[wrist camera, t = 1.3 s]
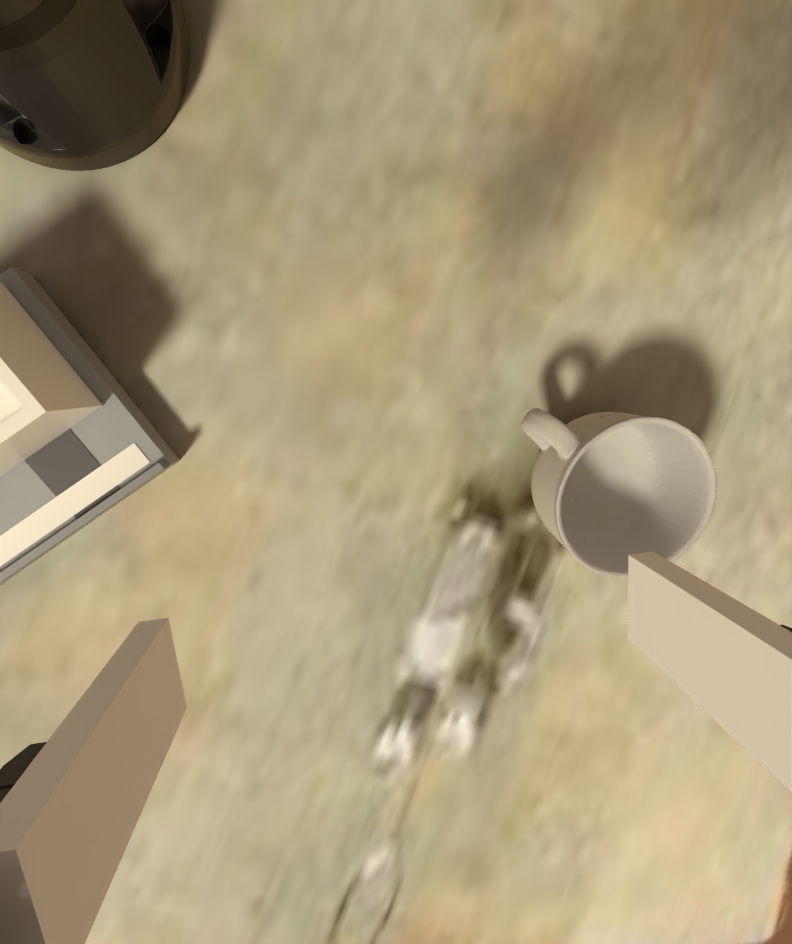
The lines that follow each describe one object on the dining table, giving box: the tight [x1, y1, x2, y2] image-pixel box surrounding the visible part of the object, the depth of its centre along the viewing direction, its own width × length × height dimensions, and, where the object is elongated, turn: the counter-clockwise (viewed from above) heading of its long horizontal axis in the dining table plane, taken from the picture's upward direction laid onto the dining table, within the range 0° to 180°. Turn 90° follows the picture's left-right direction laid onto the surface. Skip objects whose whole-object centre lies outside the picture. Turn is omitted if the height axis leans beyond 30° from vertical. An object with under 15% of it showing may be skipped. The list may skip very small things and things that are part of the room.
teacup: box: [521, 408, 717, 578], centre depth 35 cm, size 14×11×8 cm
